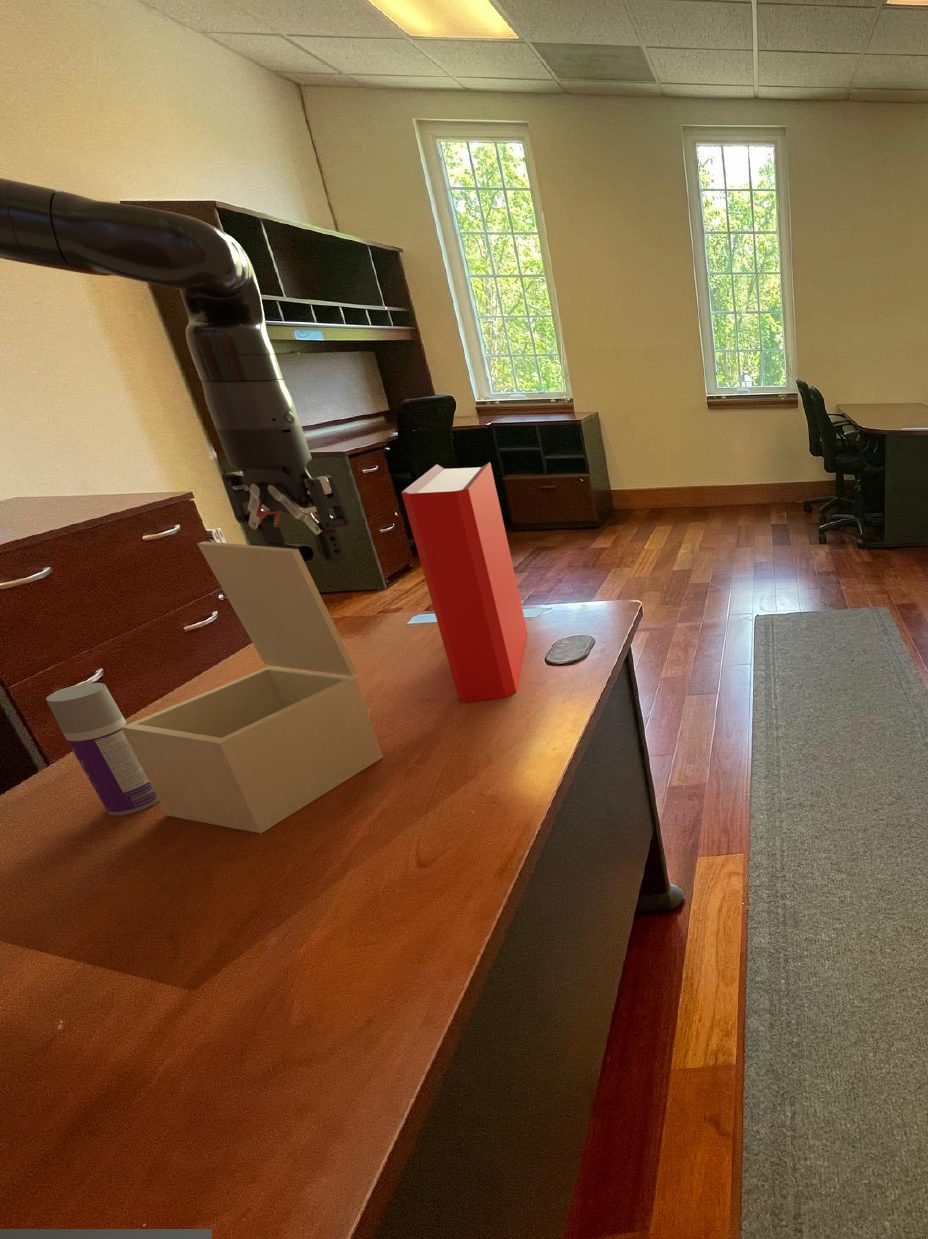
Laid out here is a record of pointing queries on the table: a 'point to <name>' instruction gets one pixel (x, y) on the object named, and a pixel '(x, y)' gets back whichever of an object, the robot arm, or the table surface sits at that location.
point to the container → (102, 747)
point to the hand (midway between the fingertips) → (305, 559)
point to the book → (469, 578)
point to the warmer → (255, 747)
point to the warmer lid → (279, 605)
